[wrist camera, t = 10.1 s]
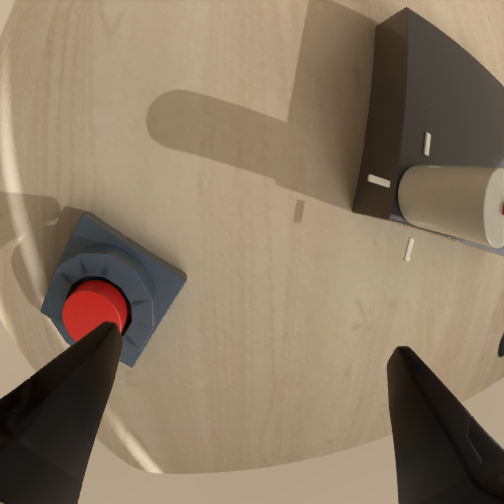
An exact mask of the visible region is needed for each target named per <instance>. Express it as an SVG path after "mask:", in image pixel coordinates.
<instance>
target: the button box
mask: <svg viewBox="0 0 504 504" xmlns="http://www.w3.org/2000/svg"><path fill="white" fill-rule="evenodd" d="M89 280H101V281H105V282H107V283H109V284H111V285H112V286H114V287H115V288H116V289H117V290H118V291H119V292H120V293H121V295H122V296H123V298H124V300H125V303H126V306H127V318H126V322H125V324H124V327H123V329H122V332H121V336H122V339H123V347H122V351H121V355H120V359H119V361H121V362H123V363H125V364H126V365H128V366H130V367H134V365H135V363H136V362H137V360H138V358H139V357H140V355H141V353H142V352H143V350H144V348H145V347H146V345H147V343H148V342H149V340H150V338H151V337H152V335H153V334H154V332H155V330H156V329H157V327H158V325H159V324H160V322H161V321H162V319H163V317H164V316H165V314H166V313H167V311H168V309H169V308H170V306H171V305H172V303H173V301H174V300H175V298H176V297H177V295H178V294H179V292H180V290H181V289H182V287H183V286H184V284H185V283H186V281H187V275H186V274H185V273H184V272H182V271H180V270H179V269H177V268H175V267H174V266H172V265H171V264H169V263H167V262H166V261H164V260H162V259H161V258H159V257H158V256H156V255H154V254H153V253H151V252H150V251H148V250H146V249H145V248H143V247H142V246H140V245H139V244H137V243H135V242H134V241H132V240H131V239H129V238H128V237H126V236H125V235H123V234H122V233H120V232H118V231H117V230H115V229H114V228H112V227H111V226H109V225H108V224H106V223H105V222H103V221H102V220H100V219H99V218H97V217H96V216H94V215H93V214H91V213H90V212H87V213H84V214H82V216H81V218H80V220H79V222H78V224H77V226H76V228H75V230H74V232H73V234H72V236H71V238H70V240H69V242H68V244H67V246H66V249H65V251H64V253H63V255H62V257H61V260H60V262H59V264H58V267H57V268H56V271H55V273H54V275H53V278H52V280H51V283H50V285H49V288H48V291H47V294H46V297H45V299H44V302H43V305H42V308H41V312H42V313H43V314H45V315H46V316H48V317H49V318H50V319H51V320H52V322H53V323H54V325H55V326H56V328H57V329H58V331H59V332H60V334H61V335H62V337H63V338H64V339H65V341H66V342H67V343H68V344H69V345H71V346H72V345H73V344H74V343H76V341H75V340H74V339H73V338H72V337H71V336H70V335H69V333H68V332H67V330H66V328H65V325H64V322H63V316H62V312H63V306H64V304H65V302H66V300H67V299H68V297H69V296H70V295H71V294H72V293H73V292H74V291H75V290H76V289H77V288H78V287H79V286H80V285H81V284H82V283H84V282H86V281H89Z"/></svg>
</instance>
